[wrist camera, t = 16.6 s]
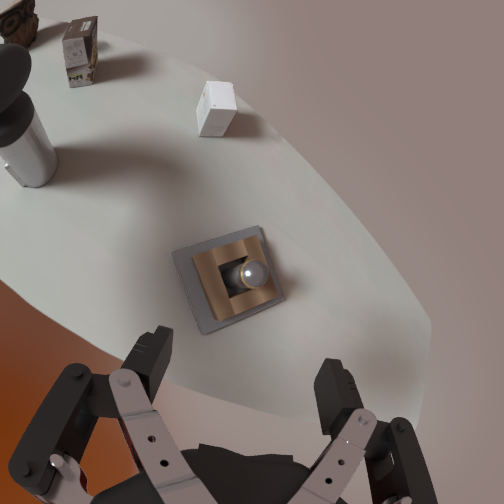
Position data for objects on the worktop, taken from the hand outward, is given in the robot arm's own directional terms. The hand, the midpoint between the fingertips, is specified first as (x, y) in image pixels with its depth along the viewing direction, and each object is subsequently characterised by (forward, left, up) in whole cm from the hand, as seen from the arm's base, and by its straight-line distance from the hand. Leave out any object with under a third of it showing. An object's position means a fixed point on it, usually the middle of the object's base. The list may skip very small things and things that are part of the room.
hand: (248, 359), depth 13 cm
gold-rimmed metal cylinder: (+12, +2, -36) cm, 38 cm away
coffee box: (-8, +60, -38) cm, 72 cm away
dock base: (+12, +2, -38) cm, 40 cm away
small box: (+19, +36, -38) cm, 56 cm away
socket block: (+12, +2, -36) cm, 38 cm away
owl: (-31, +88, -38) cm, 101 cm away
